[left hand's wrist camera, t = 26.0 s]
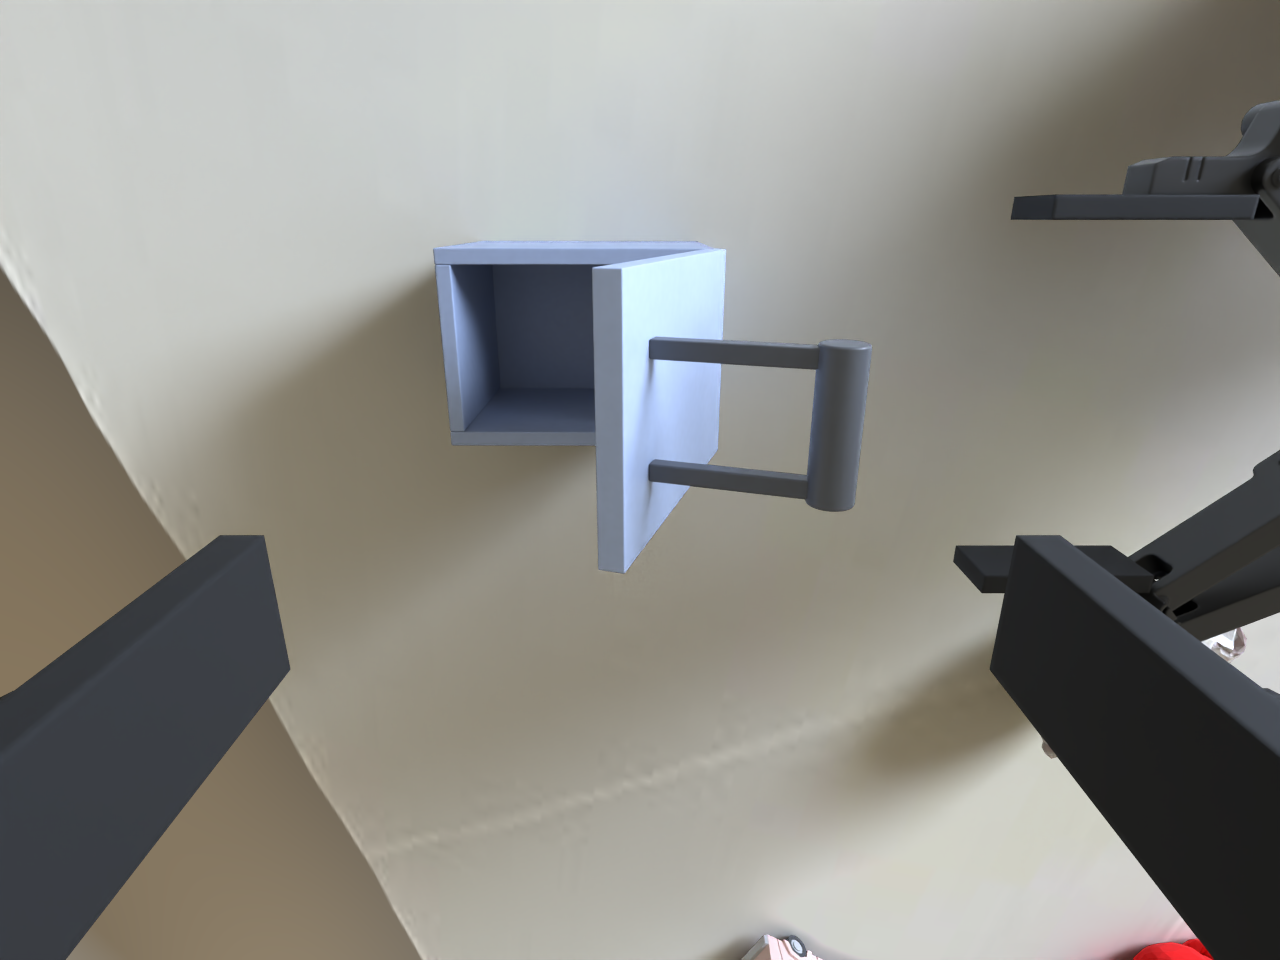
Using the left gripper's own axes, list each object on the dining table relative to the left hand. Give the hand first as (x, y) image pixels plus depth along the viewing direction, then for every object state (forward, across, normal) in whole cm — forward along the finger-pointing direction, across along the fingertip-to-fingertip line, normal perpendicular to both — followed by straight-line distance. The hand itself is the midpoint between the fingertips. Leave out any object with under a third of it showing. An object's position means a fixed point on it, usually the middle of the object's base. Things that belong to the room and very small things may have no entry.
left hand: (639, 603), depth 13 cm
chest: (+37, -3, 0) cm, 37 cm away
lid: (+18, +1, 0) cm, 18 cm away
